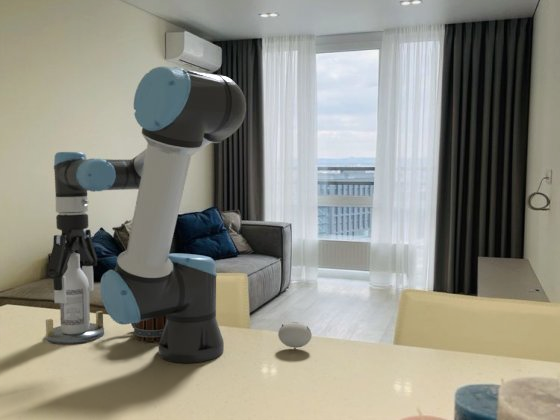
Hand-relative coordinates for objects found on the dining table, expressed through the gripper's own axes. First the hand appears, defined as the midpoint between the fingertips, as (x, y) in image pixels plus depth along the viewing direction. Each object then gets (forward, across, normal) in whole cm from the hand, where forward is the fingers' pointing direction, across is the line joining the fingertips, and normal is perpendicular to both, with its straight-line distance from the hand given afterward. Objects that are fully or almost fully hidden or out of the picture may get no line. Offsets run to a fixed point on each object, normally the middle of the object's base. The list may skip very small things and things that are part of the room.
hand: (75, 296), depth 135 cm
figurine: (+11, -2, -57) cm, 58 cm away
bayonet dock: (+10, 0, 0) cm, 10 cm away
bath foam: (+9, 0, 0) cm, 9 cm away
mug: (+11, +4, -18) cm, 21 cm away
